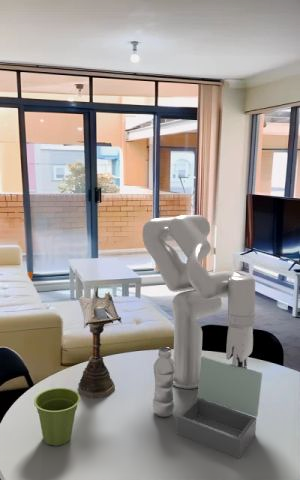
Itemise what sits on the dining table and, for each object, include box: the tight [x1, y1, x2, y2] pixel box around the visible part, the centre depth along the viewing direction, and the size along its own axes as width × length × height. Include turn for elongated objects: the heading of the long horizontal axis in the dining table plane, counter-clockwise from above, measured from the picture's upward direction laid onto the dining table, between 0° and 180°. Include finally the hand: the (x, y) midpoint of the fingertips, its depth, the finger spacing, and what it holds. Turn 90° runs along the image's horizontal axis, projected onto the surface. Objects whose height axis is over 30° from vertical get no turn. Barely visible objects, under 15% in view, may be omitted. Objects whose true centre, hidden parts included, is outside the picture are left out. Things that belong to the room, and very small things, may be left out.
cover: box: [196, 355, 263, 418], centre depth 119 cm, size 18×12×1 cm
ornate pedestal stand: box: [78, 284, 122, 399], centre depth 132 cm, size 17×13×35 cm
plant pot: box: [33, 387, 81, 447], centre depth 110 cm, size 12×12×11 cm
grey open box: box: [176, 397, 257, 459], centre depth 114 cm, size 18×12×5 cm, turn 57°
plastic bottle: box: [152, 346, 175, 418], centre depth 122 cm, size 6×7×20 cm
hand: (240, 380), depth 121 cm, fingers closed
